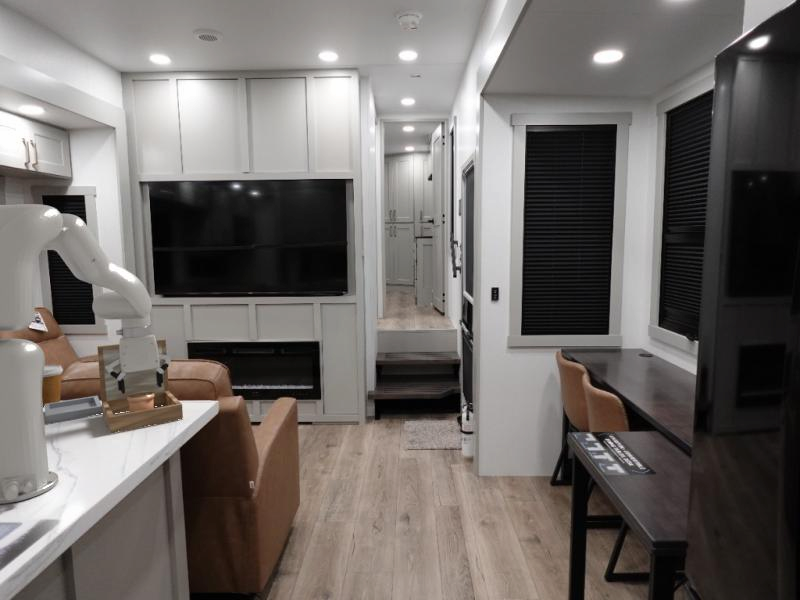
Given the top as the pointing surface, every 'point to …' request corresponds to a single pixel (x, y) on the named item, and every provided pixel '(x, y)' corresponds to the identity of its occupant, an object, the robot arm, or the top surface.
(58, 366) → the disposable coffee cup
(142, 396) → the terracotta pot
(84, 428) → the top surface
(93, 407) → the slate tray
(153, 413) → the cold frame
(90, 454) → the top surface
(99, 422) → the top surface
